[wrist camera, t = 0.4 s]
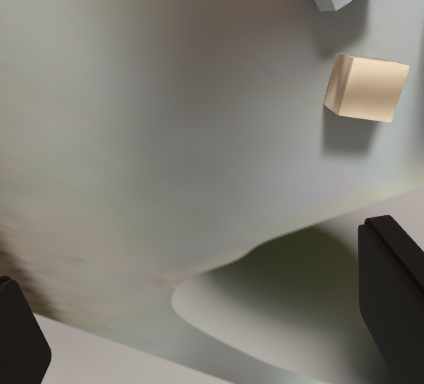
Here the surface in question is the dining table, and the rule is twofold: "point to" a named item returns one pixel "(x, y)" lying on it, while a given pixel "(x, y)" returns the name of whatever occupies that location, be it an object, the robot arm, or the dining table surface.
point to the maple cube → (365, 87)
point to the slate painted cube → (331, 4)
